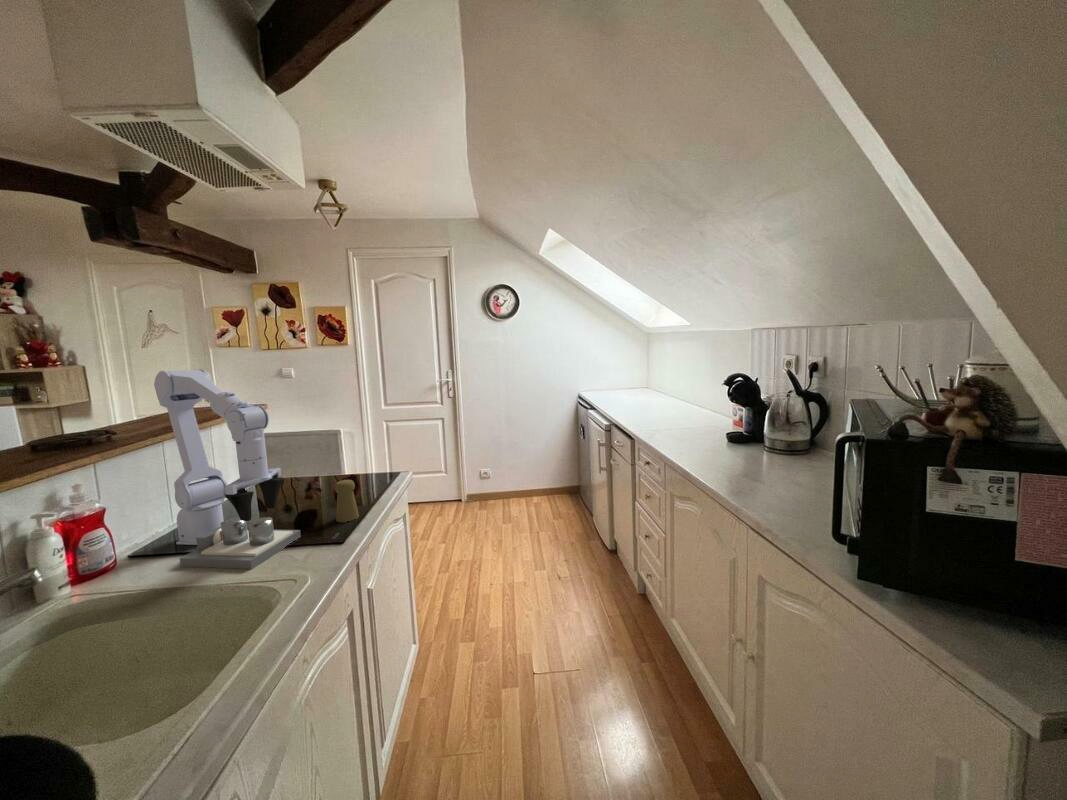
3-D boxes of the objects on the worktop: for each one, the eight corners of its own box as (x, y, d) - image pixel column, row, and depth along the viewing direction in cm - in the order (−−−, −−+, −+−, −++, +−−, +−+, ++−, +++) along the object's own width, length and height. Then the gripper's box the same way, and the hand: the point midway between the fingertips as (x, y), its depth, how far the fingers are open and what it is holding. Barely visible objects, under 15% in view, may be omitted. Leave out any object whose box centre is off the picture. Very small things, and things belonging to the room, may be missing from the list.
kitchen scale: (180, 566, 96) (177, 543, 95) (238, 535, 112) (236, 515, 111) (251, 569, 93) (248, 545, 93) (301, 537, 109) (298, 516, 109)
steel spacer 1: (217, 544, 101) (215, 524, 100) (235, 535, 105) (233, 516, 105) (235, 545, 100) (233, 525, 99) (253, 536, 104) (250, 517, 104)
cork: (363, 514, 124) (359, 477, 123) (352, 522, 118) (348, 484, 117) (343, 514, 125) (340, 477, 123) (331, 522, 119) (328, 484, 117)
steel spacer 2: (244, 546, 99) (242, 525, 98) (257, 537, 104) (255, 517, 103) (266, 545, 99) (264, 524, 99) (278, 536, 104) (276, 516, 104)
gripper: (242, 466, 92) (249, 526, 93) (289, 450, 106) (295, 503, 107) (213, 466, 93) (221, 526, 94) (264, 450, 107) (270, 502, 108)
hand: (258, 514), depth 101 cm, fingers open, 7 cm apart
